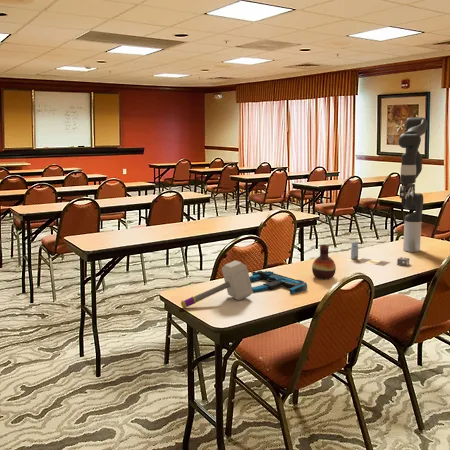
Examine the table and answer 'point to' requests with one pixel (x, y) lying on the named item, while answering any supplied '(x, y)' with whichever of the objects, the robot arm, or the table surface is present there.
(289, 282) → the submachine gun
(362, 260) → the board
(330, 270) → the vase
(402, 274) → the table surface
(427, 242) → the table surface
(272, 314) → the table surface
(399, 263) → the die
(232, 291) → the hammer
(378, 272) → the table surface
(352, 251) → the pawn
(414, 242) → the robot arm
